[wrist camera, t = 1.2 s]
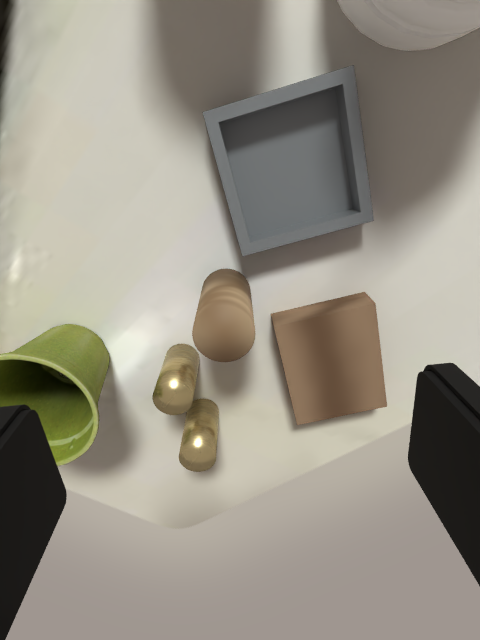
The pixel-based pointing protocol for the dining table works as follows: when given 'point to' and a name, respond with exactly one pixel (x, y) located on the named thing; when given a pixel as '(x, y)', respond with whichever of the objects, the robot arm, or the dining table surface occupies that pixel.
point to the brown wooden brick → (331, 357)
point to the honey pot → (413, 21)
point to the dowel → (224, 317)
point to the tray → (293, 161)
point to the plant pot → (59, 386)
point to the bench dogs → (188, 407)
